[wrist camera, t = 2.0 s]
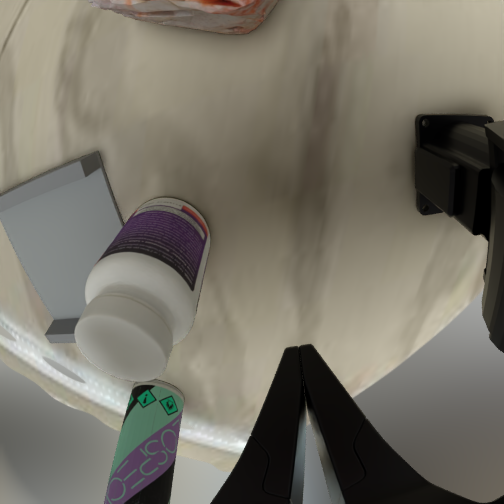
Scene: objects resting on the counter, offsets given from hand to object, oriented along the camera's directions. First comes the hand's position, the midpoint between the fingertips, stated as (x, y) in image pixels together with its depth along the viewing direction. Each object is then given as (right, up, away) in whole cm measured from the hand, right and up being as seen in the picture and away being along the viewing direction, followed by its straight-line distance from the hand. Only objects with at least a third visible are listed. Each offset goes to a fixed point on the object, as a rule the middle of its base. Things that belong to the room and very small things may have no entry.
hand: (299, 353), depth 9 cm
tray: (-15, +3, +10) cm, 18 cm away
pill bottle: (-7, +4, +10) cm, 13 cm away
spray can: (-11, -11, +19) cm, 25 cm away
